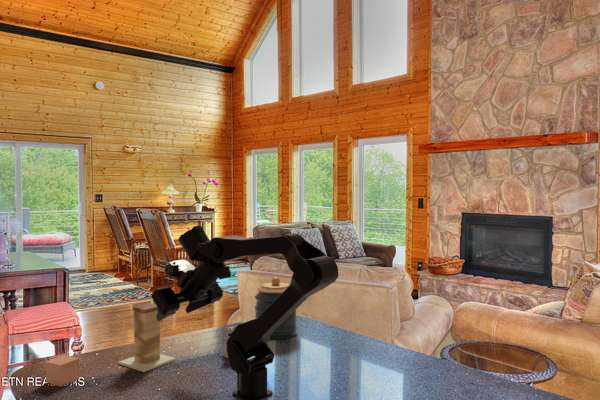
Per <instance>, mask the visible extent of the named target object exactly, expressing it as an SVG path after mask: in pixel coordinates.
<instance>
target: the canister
mask: <svg viewBox="0 0 600 400" xmlns="http://www.w3.org/2000/svg"><path fill="white" fill-rule="evenodd" d="M280 280H281V279H280V278H279V277H276V276H275V277H273V278H271V281H270V282H265V283H263V284H261V286H259V287H257V291H258V293H256V294H254V299H255V300H256V301H255V302H256V303H255V306H254V309H255V311H254V313H255V317H254V319H257V318H258V317H259V316H260V315H261V314H262V313H263V312H264V311H265V310H266V309H267V308H268V307H269V306H270V305H271V304H272V303H273V302H274V301H275V300H276V299H277V298H278V297H279V296H280V295H281V294H282V293H283V292H284V291H285V290H286V289H287V288H288V287H289V285H290V283H287V282H283V281H282V282H281V281H280ZM297 329H298V327H297V309H296V310H295V311H294V312H293V313H292V314H291V315H290V316H289V317H288V318H287V319H286V320H285V321H284V322H283V323H282V324H281V325H280V326H278V327H277V328H276V329H275V330H274V331H273V332H272V333H271V335H270V338H269V340H271V341H272V340H275V341H276V340H286V339H291V338H293V337H294V336H296V334H297Z"/></svg>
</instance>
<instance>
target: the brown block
mask: <svg viewBox="0 0 600 400" xmlns="http://www.w3.org/2000/svg"><path fill="white" fill-rule="evenodd" d="M132 312H133V334H134V335H133V339H134V341H133V345H134V348H133V349H134V353H133V354H134V355H133V357H134V361H137V362H140V363H143V364H148V363H151V362H153V361H156V360H159V359H160V354H161V349H160V348H161V347H160V346H161V338H160V337H161V336H160V335H161V333H160V332H161V330H160V329H161V328H160V327H161V325H160V324H161V323H160V322H161V321H158V320H157V318H156V317H157V312H158V307H157V306H156V304H155V303H149V302H147V303H144V304H143V303H142V304H140V305H139V304H138V305H136V306H133V307H132Z"/></svg>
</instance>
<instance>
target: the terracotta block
mask: <svg viewBox="0 0 600 400" xmlns="http://www.w3.org/2000/svg"><path fill="white" fill-rule="evenodd" d="M77 380H80V358H79V357H74V356H69V355H61V356H58V357H55V358H53V359H50V360H47V361H45V383H46V382H48V383H51V384H50V385H52V384H54V385H53V386H57V385H58V386H57V387H63V385H64V386H66V385H68V384H70V382H71V383H73V382H75V381H77ZM72 381H73V382H72ZM48 383H47V384H48ZM67 383H68V384H67ZM65 384H66V385H65Z"/></svg>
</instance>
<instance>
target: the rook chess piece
mask: <svg viewBox="0 0 600 400" xmlns="http://www.w3.org/2000/svg"><path fill="white" fill-rule="evenodd" d="M236 327H237V326H236V325H232V324H230V325H227V326H225V330H224V332H225V333H226V334H225V337H226V340H225V343H226V342H227V340H228V338H229V337H230V336H228V334H230V333H232V332H233V331H234V330H235V328H236ZM222 352H223V353H222V356H223V357H224V358H225V359H227V360H229V357H228V354H227V345H226V344H225V346H224V348H223V350H222Z"/></svg>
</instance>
